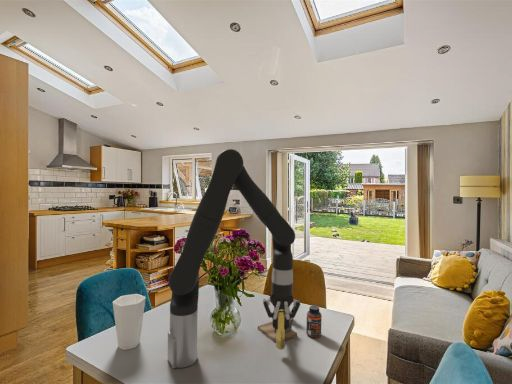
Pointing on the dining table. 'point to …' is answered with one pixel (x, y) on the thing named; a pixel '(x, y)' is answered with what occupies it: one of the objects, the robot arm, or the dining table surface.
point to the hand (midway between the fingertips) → (280, 328)
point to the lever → (280, 330)
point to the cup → (128, 320)
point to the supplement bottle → (313, 322)
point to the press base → (271, 332)
